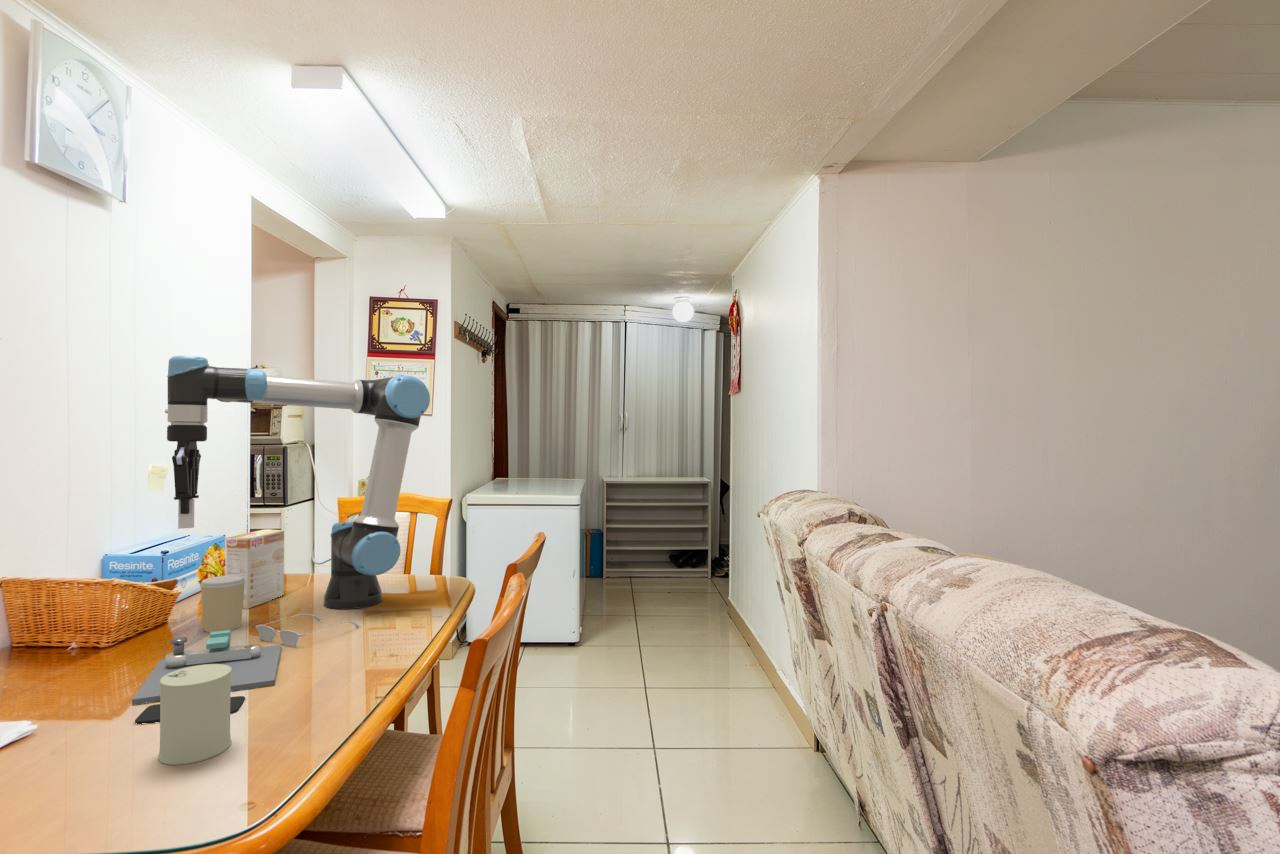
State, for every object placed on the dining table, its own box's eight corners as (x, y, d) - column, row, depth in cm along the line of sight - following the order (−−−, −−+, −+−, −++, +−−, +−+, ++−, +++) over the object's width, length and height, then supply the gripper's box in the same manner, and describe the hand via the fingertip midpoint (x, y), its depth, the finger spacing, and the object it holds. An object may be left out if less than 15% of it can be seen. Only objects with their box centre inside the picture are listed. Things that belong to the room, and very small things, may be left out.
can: (182, 737, 105) (183, 661, 105) (243, 735, 105) (243, 659, 105) (143, 766, 95) (144, 683, 95) (210, 764, 96) (211, 681, 96)
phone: (236, 711, 113) (132, 722, 108) (236, 716, 113) (132, 727, 108) (246, 695, 120) (149, 704, 115) (246, 699, 120) (149, 709, 115)
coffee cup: (253, 623, 166) (253, 575, 166) (226, 634, 157) (227, 583, 157) (218, 621, 167) (219, 574, 167) (190, 632, 158) (190, 582, 158)
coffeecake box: (262, 595, 195) (263, 529, 195) (284, 596, 194) (285, 529, 194) (224, 608, 180) (225, 536, 180) (247, 609, 179) (248, 537, 179)
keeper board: (281, 649, 147) (281, 622, 147) (274, 685, 126) (274, 653, 126) (161, 663, 137) (161, 634, 137) (131, 705, 116) (132, 671, 116)
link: (162, 668, 131) (162, 643, 131) (168, 661, 135) (169, 637, 135) (258, 658, 137) (259, 634, 137) (262, 651, 141) (262, 628, 141)
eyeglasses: (254, 641, 154) (254, 623, 154) (321, 621, 170) (321, 605, 170) (299, 650, 147) (299, 632, 147) (364, 629, 164) (364, 612, 164)
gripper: (176, 424, 155) (175, 524, 155) (158, 423, 143) (156, 532, 142) (213, 424, 158) (212, 523, 157) (198, 424, 145) (197, 531, 145)
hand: (186, 527), depth 150 cm, fingers closed
